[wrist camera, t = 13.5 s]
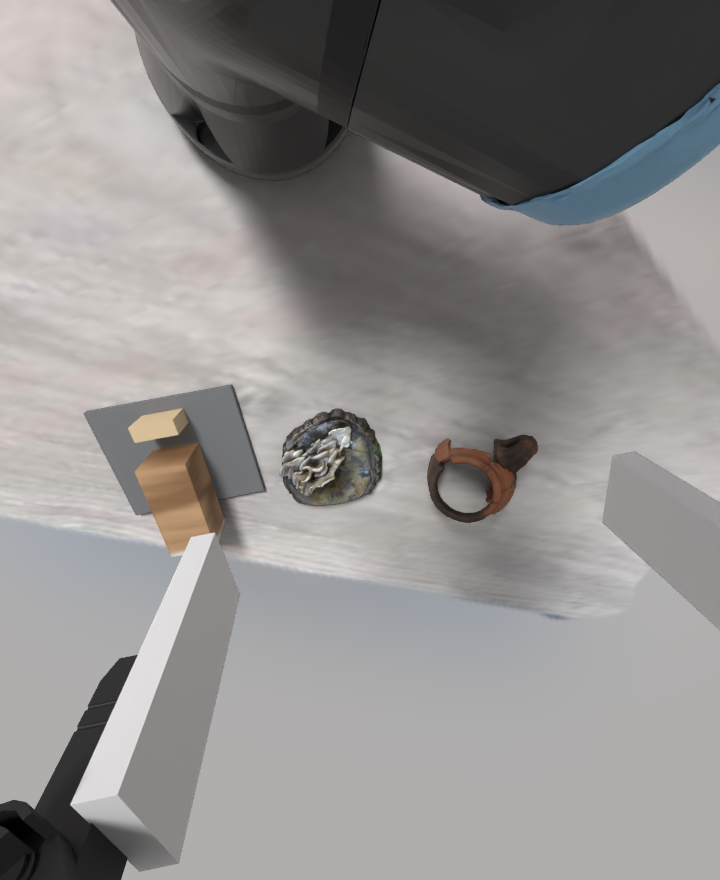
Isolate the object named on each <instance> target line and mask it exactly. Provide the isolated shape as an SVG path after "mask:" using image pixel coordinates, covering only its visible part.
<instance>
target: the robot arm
mask: <svg viewBox="0 0 720 880" xmlns="http://www.w3.org/2000/svg"><path fill="white" fill-rule="evenodd" d="M110 1H111V2H112V3H113V4H114V5H115V7H116V8H117V9H118V10H119V12H120V13H121V14H122V15H123V17H124V18H125V19H126V20H127V22H128V23H129V24H130V25H131V27H132V28H133V29H134V31H135V35H136V40H137V44H138V48H139V51H140V55H141V58H142V61H143V64H144V66H145V69H146V71H147V74H148V76H149V79H150V81H151V83H152V85H153V87H154V89H155V91H156V93H157V95H158V97H159V99H160V100H161V102H162V104H163V105H164V107H165V109H166V110H167V112H168V113H169V115H170V116H171V118H172V119H173V120H174V121H175V123H176V124H177V125H178V127H179V128H180V129H181V130H182V131H183V132H184V134H185V135H186V136H187V137H188V138H189V139H190V140H191V141H192V142H193V143H194V144H195V145H196V146H197V147H198V148H200V149H201V150H202V151H203V152H204V153H205V154H206V155H208V156H209V157H210V158H211V159H213V160H214V161H216V162H217V163H219V164H220V165H222V166H224V167H225V168H227V169H229V170H231V171H233V172H235V173H238V174H240V175H243V176H247V177H250V178H255V179H261V180H282V179H288V178H292V177H295V176H299V175H301V174H303V173H306V172H308V171H310V170H311V169H313V168H315V167H316V166H318V165H319V164H320V163H322V162H323V161H324V160H325V159H326V158H328V157H329V156H330V155H331V154H332V152H333V151H334V150H335V149H336V148H337V147H338V145H339V144H340V143H341V141H342V140H343V138H344V137H345V135H346V133H347V132H348V130H349V131H351V132H353V133H355V134H357V135H359V136H361V137H363V138H365V139H367V140H369V141H371V142H373V143H375V144H377V145H379V146H381V147H383V148H385V149H387V150H389V151H392V152H394V153H396V154H398V155H400V156H402V157H404V158H406V159H408V160H410V161H412V162H414V163H416V164H418V165H420V166H422V167H424V168H426V169H428V170H430V171H432V172H434V173H436V174H439V175H441V176H443V177H445V178H447V179H449V180H451V181H453V182H455V183H457V184H459V185H461V186H463V187H465V188H467V189H469V190H471V191H473V192H475V193H477V194H479V195H480V197H481V199H482V200H483V201H484V202H486V203H488V204H489V205H491V206H494V207H496V208H498V209H503V210H513V211H517V212H520V213H522V214H524V215H527V216H529V217H531V218H534V219H536V220H539V221H541V222H544V223H547V224H551V225H559V226H560V225H580V224H586V223H591V222H594V221H597V220H600V219H603V218H606V217H609V216H612V215H614V214H616V213H619V212H621V211H623V210H625V209H627V208H629V207H631V206H633V205H635V204H637V203H639V202H641V201H642V200H644V199H646V198H647V197H649V196H651V195H652V194H654V193H656V192H657V191H659V190H660V189H662V188H663V187H664V186H666V185H668V184H669V183H671V182H672V181H673V180H675V179H676V178H678V177H679V176H680V175H682V174H683V173H685V172H686V171H687V170H688V169H690V168H691V167H692V166H694V165H695V164H696V163H698V162H699V161H700V160H701V159H703V158H704V157H705V156H706V155H708V154H709V153H710V152H711V151H712V150H714V149H715V148H716V147H717V146H718V145H719V144H720V0H110ZM602 523H603V524H604V525H606V526H607V527H608V528H609V529H610V530H611V531H612V532H613V533H614V534H615V535H616V536H618V537H619V538H620V539H621V540H622V541H623V542H624V543H625V544H626V545H627V546H628V547H630V548H631V549H632V550H633V551H634V552H635V553H636V554H637V555H638V556H639V557H640V558H642V559H643V560H644V561H645V562H646V563H647V564H648V565H649V566H650V567H651V568H652V569H653V570H655V571H656V572H657V573H658V574H659V575H660V576H661V577H662V578H663V579H664V580H665V581H667V582H668V583H669V584H670V585H671V586H672V587H673V588H674V589H675V590H676V591H677V592H679V593H680V594H681V595H682V596H683V597H684V598H685V599H686V600H687V601H688V602H689V603H691V604H692V605H693V606H694V607H695V608H696V609H697V610H698V611H699V612H700V613H701V614H702V615H704V616H705V617H706V618H707V619H708V620H709V621H710V622H711V623H712V624H713V625H714V626H716V627H717V628H718V629H719V630H720V502H718V501H717V500H715V499H713V498H712V497H710V496H708V495H707V494H705V493H703V492H702V491H700V490H698V489H697V488H695V487H693V486H692V485H690V484H688V483H687V482H685V481H683V480H682V479H680V478H678V477H677V476H675V475H673V474H672V473H670V472H668V471H667V470H665V469H663V468H662V467H660V466H658V465H657V464H655V463H653V462H652V461H650V460H648V459H647V458H645V457H643V456H642V455H640V454H638V453H637V452H630V453H625V454H619V455H614V456H612V462H611V469H610V476H609V482H608V489H607V495H606V502H605V508H604V515H603V521H602ZM239 597H240V592H239V589H238V587H237V585H236V582H235V580H234V577H233V575H232V573H231V570H230V568H229V565H228V563H227V560H226V558H225V556H224V553H223V551H222V548H221V546H220V543H219V541H218V539H217V536H216V534H215V533H210V534H204V535H199V536H194V537H191V538H190V541H189V543H188V545H187V547H186V550H185V552H184V554H183V556H182V559H181V561H180V563H179V565H178V567H177V569H176V572H175V574H174V576H173V578H172V580H171V583H170V585H169V587H168V589H167V592H166V594H165V596H164V598H163V601H162V603H161V605H160V607H159V609H158V612H157V614H156V616H155V618H154V621H153V623H152V625H151V627H150V629H149V632H148V634H147V636H146V638H145V640H144V642H143V645H142V647H141V649H140V651H139V654H138V655H135V656H130V657H125V658H121V659H119V660H118V661H117V662H116V663H115V665H114V666H113V667H112V668H111V669H110V670H109V672H108V673H107V674H106V675H105V676H104V677H103V679H102V680H101V681H100V683H99V685H98V687H97V689H96V691H95V693H94V695H93V697H92V699H91V701H90V703H89V705H88V710H86V711H85V712H84V714H83V716H82V718H81V720H80V722H79V724H78V726H77V727H78V729H77V731H76V732H74V734H73V736H72V738H71V740H70V742H69V744H68V746H67V747H66V749H65V751H64V753H63V755H62V757H61V759H60V761H59V763H58V765H57V767H56V769H55V771H54V773H53V775H52V777H51V779H50V781H49V783H48V785H47V786H46V788H45V790H44V793H43V794H42V796H41V798H40V800H39V802H38V804H37V806H36V808H35V810H34V809H33V808H32V807H31V806H30V805H28V804H27V803H26V802H22V801H17V800H12V801H9V802H6V803H3V804H0V880H121V878H122V875H123V871H124V868H125V865H126V862H127V860H128V861H129V862H130V863H131V864H132V865H133V866H134V867H135V868H136V869H137V870H138V871H140V872H141V871H145V870H150V869H155V868H159V867H163V866H168V865H174V864H178V863H179V861H180V856H181V852H182V848H183V843H184V839H185V834H186V830H187V825H188V821H189V817H190V812H191V808H192V804H193V799H194V795H195V791H196V786H197V782H198V777H199V773H200V769H201V764H202V759H203V755H204V751H205V746H206V742H207V738H208V733H209V729H210V725H211V720H212V716H213V711H214V707H215V703H216V698H217V694H218V690H219V685H220V681H221V676H222V672H223V667H224V663H225V659H226V654H227V650H228V646H229V641H230V636H231V632H232V628H233V624H234V619H235V614H236V610H237V606H238V601H239Z"/></svg>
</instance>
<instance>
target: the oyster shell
mask: <svg viewBox="0 0 720 880" xmlns="http://www.w3.org/2000/svg"><path fill="white" fill-rule="evenodd" d="M381 462H382V454H381V448H380V444H379V443H378V442H377V439H376V437H375V431H374V430H372V429H371V428H370V427H369V425H368V423H367V421H366V419H365V418H358V417H356V415H355V414H352V413H350V412H344V411H343V410H342V409H334V410H332V411H331V412H330V413H326V412H321V413H318V414H317V415H316V416H315V417H314V418H313V419H309V420H307V421H306V422H305V423H304V424H303V425H301V426H299V427H297V428H295V429H294V430H293V431H292V432H291V433H290V434H289V435H288V436H287V437H286V442H285V443H284V444H283V455H282V467H281V468H280V470H279V475H280V476H281V477H283V483H284V485H285V487H286V488H287V489H288V491H289V493H290V494H292V496H293V498H294V500H296V501H297V502H298V503H302V504H307V505H313V506H322V505H333V504H339V503H345V502H348V501H350V500H354V499H357V498H360V497H361V496H363V495H365V494H370V493H371V490H372V489H373V487H374V486H375V485H376V482H377V481H378V480H379V479H380V476H381Z"/></svg>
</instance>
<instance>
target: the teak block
mask: <svg viewBox="0 0 720 880" xmlns="http://www.w3.org/2000/svg"><path fill="white" fill-rule="evenodd" d="M135 475H136V477H137V479H138V481H139V484H140V486H141V488H142V491H143V493H144V495H145V497H146V500H147V502H148V504H149V507H150V509H151V511H152V514H153V516H154V518H155V520H156V523H157V525H158V527H159V530H160V532H161V534H162V537H163V539H164V541H165V543H166V546H167V548H168V550H169V553H170V555H171V557H172V556H179V555H183V554H184V552H185V550H186V547H187V545H188V543H189V541H190V538H191V537H194V536H199V535H204V534H210V533H215V534H216V536H217V539H218V541H219V540H220V537H221V534H222V531H223V528H224V525H225V519H224V516H223V513H222V510H221V507H220V504H219V501H218V498H217V495H216V492H215V489H214V486H213V483H212V480H211V477H210V475H209V472H208V469H207V466H206V463H205V460H204V457H203V454H202V451H201V448H200V445H199V443H194V444H187V445H181V446H174V447H167V448H160V449H154V450H153V451H152V452H151V453H150V454H149V455H148V457H147V458H146V459H145V460H144V461H143V462H142V464H141V465H140V466H139V467H138V468H137V469H136V471H135Z"/></svg>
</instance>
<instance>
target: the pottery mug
mask: <svg viewBox="0 0 720 880" xmlns="http://www.w3.org/2000/svg"><path fill="white" fill-rule="evenodd" d="M450 443H451V440H449V439H446V440H444V441H443V442H442V443H440V444H439V445H438V447H437V448H436V449H435V454H433V455H432V456H431V459H430V463H429V467H428V473H427V480H428V486H429V491H430V496H431V499H432V501H433V502H434V504H435V506H436V507H437V508H438V509H439V510H440V511H441V512H442V513H443V514H445V515H446V516H447V517H450V518H451V519H454V520H457V521H459V522H465V523H471V522H476V521H480V520H482V519H484V518H485V517H487V516H489V515H490V514H495V513H497V512H499V511H500V510H501V509H503V508H504V507H505V506H506V505H507V503H508V502H509V501H510V499H511V497H512V495H513V493H514V489H515V487H516V480H517V474H516V472H517V471H518V470H519V469H520V468H522V467H523V466H524V465H526V464H527V462H528V461H529V460H530V459H531V458H532V456H533V455H535V454H536V453H537V451H538V445H537V441H536V439H535V438H534V437H533V436H527V435H520V436H517V437H514V438H511V439H508V440H500V439H495V440H494V443H495V444H496V447H495V450H494V452H495V459H496V461H497V462H498V463H494V462H492V461H491V454H489V453H486V452H482V451H479V450H476V449H467V448H452V449H450ZM449 460H451V461H452V463H453V464H470V465H472V466H475V467H477V468H479V469H480V470H482V471H483V472H484V473H486V475H487V476H488V478H489V479H490V481H491V484H492V488H490V489H488V490H486V494H487V498H486V501H487V502H490V503H489V504H488V505H487V506H486V507H485V508H484V509H482V510H481V511H478V512H475V513H463V512H459V511H456V510H454V509H452V508H450V507H449V506H448V505H447V504H446V503H445V502H444V501H443V500H442V498H441V497H440V495H439V492H438V487H437V481H438V477H439V475H440V473H441V472H442V471H443V470H444V463H446V462H447V461H449Z"/></svg>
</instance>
